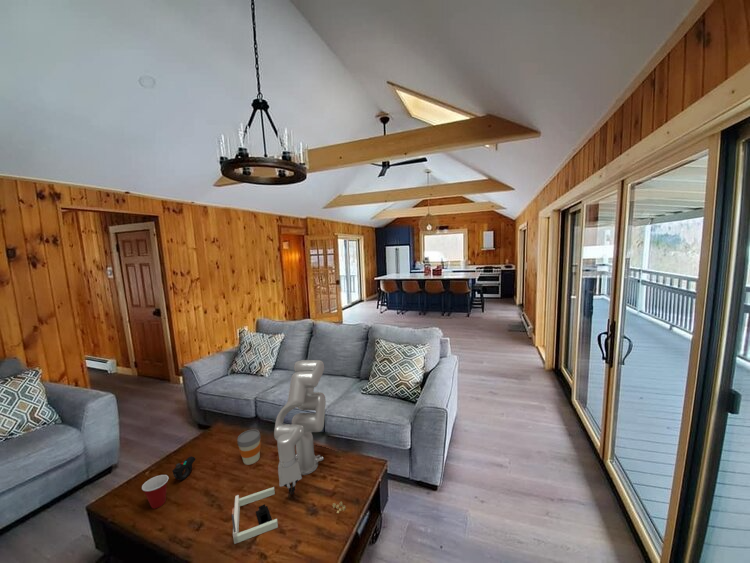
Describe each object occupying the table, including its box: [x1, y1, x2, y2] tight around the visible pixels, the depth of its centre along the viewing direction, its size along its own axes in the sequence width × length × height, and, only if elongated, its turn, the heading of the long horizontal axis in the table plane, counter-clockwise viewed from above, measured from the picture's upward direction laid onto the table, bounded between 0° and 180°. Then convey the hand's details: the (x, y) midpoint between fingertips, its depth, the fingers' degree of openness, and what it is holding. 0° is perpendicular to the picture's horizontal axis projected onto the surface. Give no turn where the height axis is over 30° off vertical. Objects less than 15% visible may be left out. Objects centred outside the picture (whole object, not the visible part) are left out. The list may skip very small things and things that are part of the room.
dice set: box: [332, 501, 346, 514], centre depth 142 cm, size 5×5×2 cm
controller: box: [172, 456, 196, 481], centre depth 167 cm, size 4×12×10 cm, turn 165°
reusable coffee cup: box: [237, 428, 262, 466], centre depth 177 cm, size 13×13×15 cm
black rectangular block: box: [255, 503, 273, 525], centre depth 140 cm, size 12×7×5 cm, turn 32°
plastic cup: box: [141, 474, 170, 509], centre depth 149 cm, size 11×11×12 cm
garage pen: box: [231, 486, 279, 545], centre depth 139 cm, size 18×21×13 cm
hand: (292, 492), depth 148 cm, fingers closed
